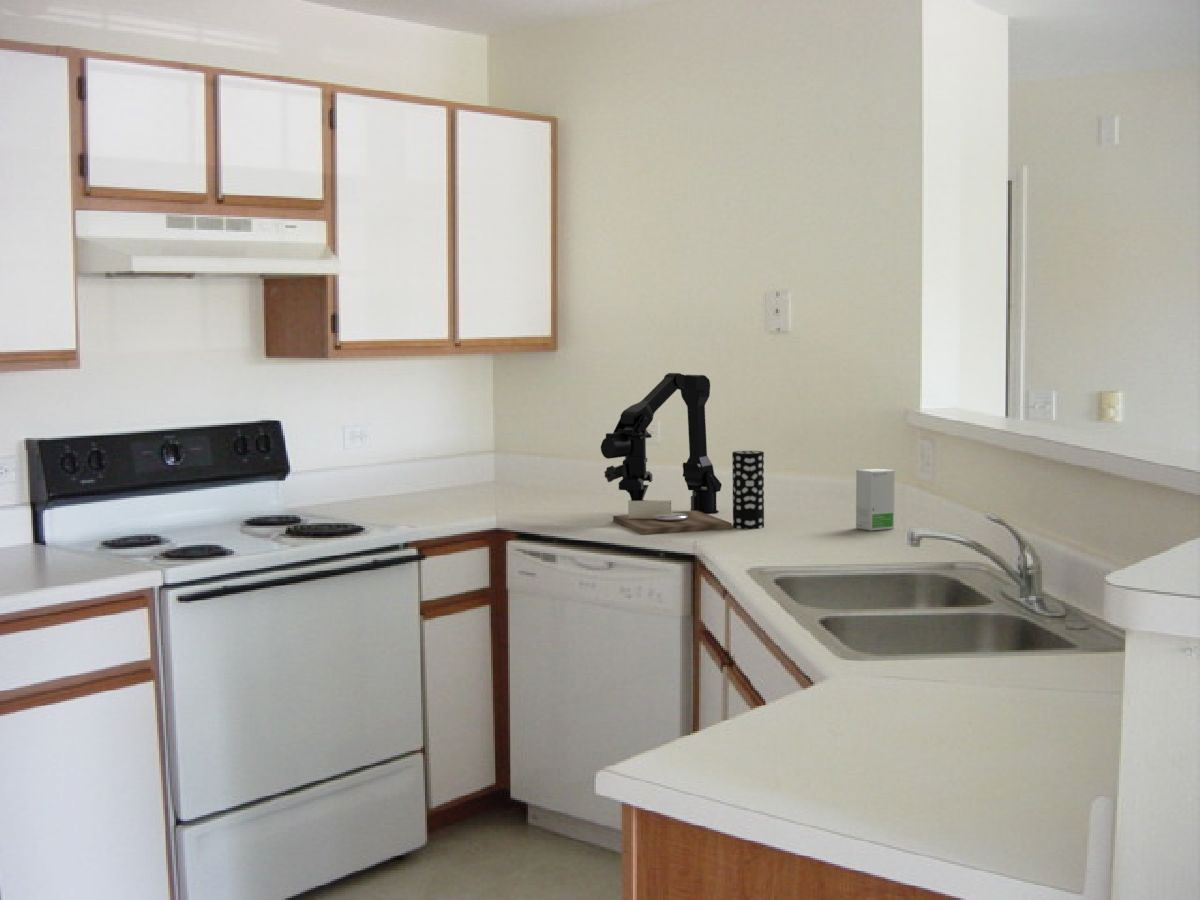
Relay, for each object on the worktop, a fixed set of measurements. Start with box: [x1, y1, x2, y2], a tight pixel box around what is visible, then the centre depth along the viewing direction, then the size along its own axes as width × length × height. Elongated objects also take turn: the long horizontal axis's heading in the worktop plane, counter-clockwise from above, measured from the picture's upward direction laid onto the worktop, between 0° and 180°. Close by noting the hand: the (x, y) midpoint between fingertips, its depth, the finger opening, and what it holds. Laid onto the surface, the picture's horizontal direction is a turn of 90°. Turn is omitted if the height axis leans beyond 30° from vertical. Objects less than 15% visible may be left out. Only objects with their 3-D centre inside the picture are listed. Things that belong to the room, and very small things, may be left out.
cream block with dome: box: [627, 499, 688, 521], centre depth 357 cm, size 16×9×5 cm, turn 81°
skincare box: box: [855, 468, 895, 532], centre depth 344 cm, size 8×7×16 cm
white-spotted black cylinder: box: [732, 450, 765, 530], centre depth 350 cm, size 8×8×20 cm
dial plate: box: [612, 510, 733, 536], centre depth 356 cm, size 25×25×2 cm
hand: (636, 511), depth 361 cm, fingers closed
